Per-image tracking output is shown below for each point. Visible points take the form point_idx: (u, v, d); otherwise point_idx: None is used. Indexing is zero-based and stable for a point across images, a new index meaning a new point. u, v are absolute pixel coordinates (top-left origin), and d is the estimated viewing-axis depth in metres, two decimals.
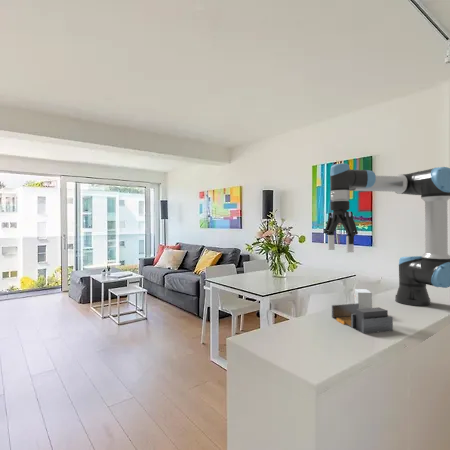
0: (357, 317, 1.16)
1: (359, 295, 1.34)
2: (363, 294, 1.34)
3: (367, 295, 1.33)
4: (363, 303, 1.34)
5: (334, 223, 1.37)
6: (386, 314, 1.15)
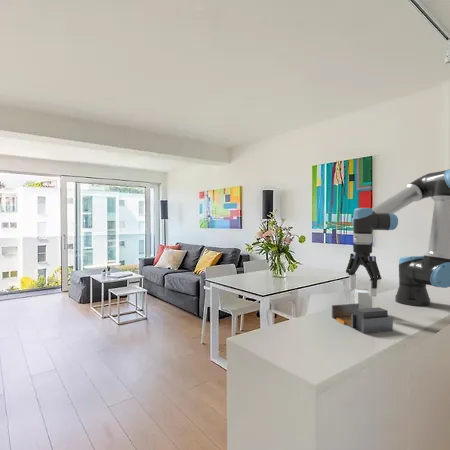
0: (357, 317, 1.16)
1: (359, 295, 1.34)
2: (363, 294, 1.34)
3: (367, 295, 1.33)
4: (363, 303, 1.34)
5: (356, 264, 1.40)
6: (386, 314, 1.15)
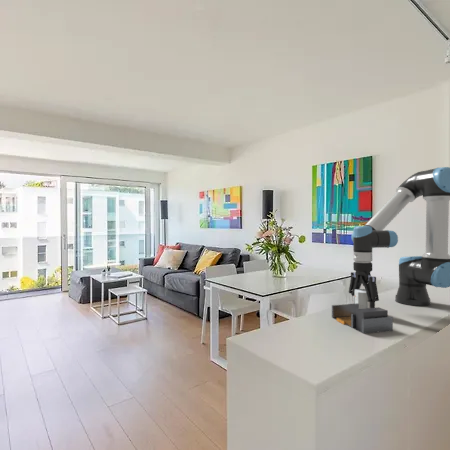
0: (357, 317, 1.16)
1: (359, 295, 1.34)
2: (363, 294, 1.34)
3: None
4: (363, 303, 1.34)
5: (358, 283, 1.40)
6: (386, 314, 1.15)
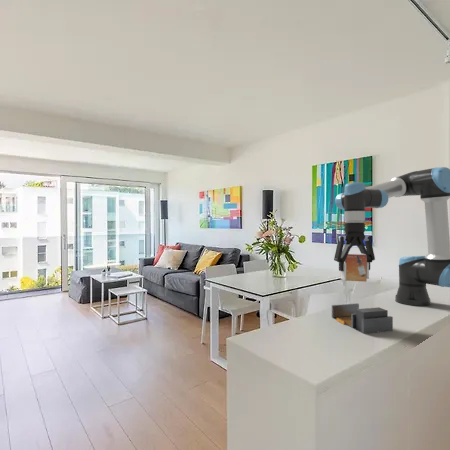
0: (357, 317, 1.16)
1: None
2: None
3: None
4: None
5: (358, 246, 1.27)
6: (386, 314, 1.15)
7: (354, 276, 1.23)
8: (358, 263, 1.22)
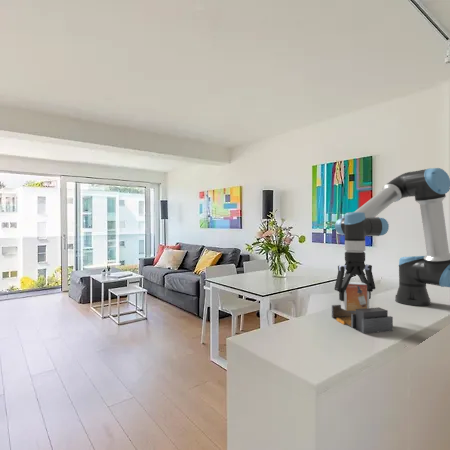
0: (357, 317, 1.16)
1: None
2: None
3: None
4: None
5: (359, 275, 1.26)
6: (386, 314, 1.15)
7: (355, 306, 1.23)
8: (359, 293, 1.22)
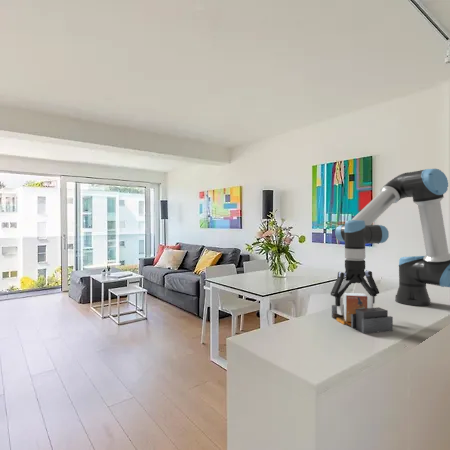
0: (357, 317, 1.16)
1: None
2: (344, 295, 1.27)
3: (345, 297, 1.25)
4: (344, 304, 1.27)
5: (360, 282, 1.27)
6: (386, 314, 1.15)
7: None
8: (359, 304, 1.22)
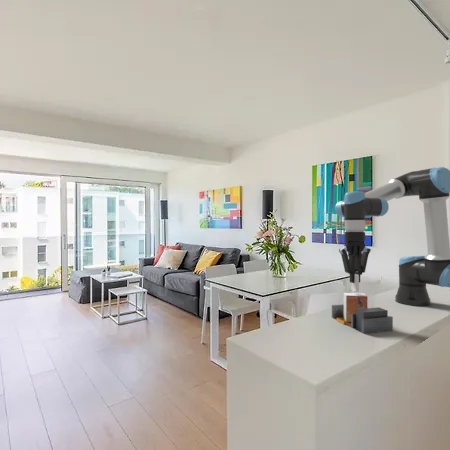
0: (357, 317, 1.16)
1: None
2: (344, 295, 1.27)
3: (345, 297, 1.25)
4: (344, 304, 1.27)
5: None
6: (386, 314, 1.15)
7: None
8: (359, 304, 1.22)
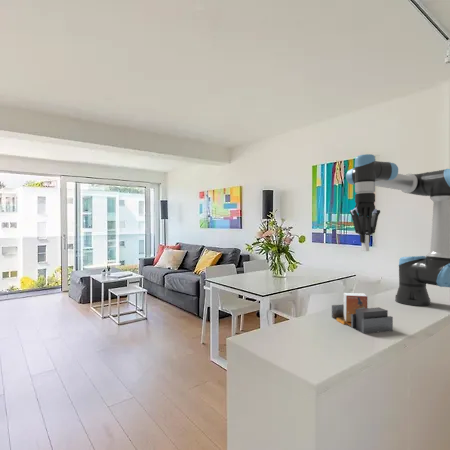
0: (357, 317, 1.16)
1: None
2: (344, 295, 1.27)
3: (345, 297, 1.25)
4: (344, 304, 1.27)
5: None
6: (386, 314, 1.15)
7: None
8: (359, 304, 1.22)
